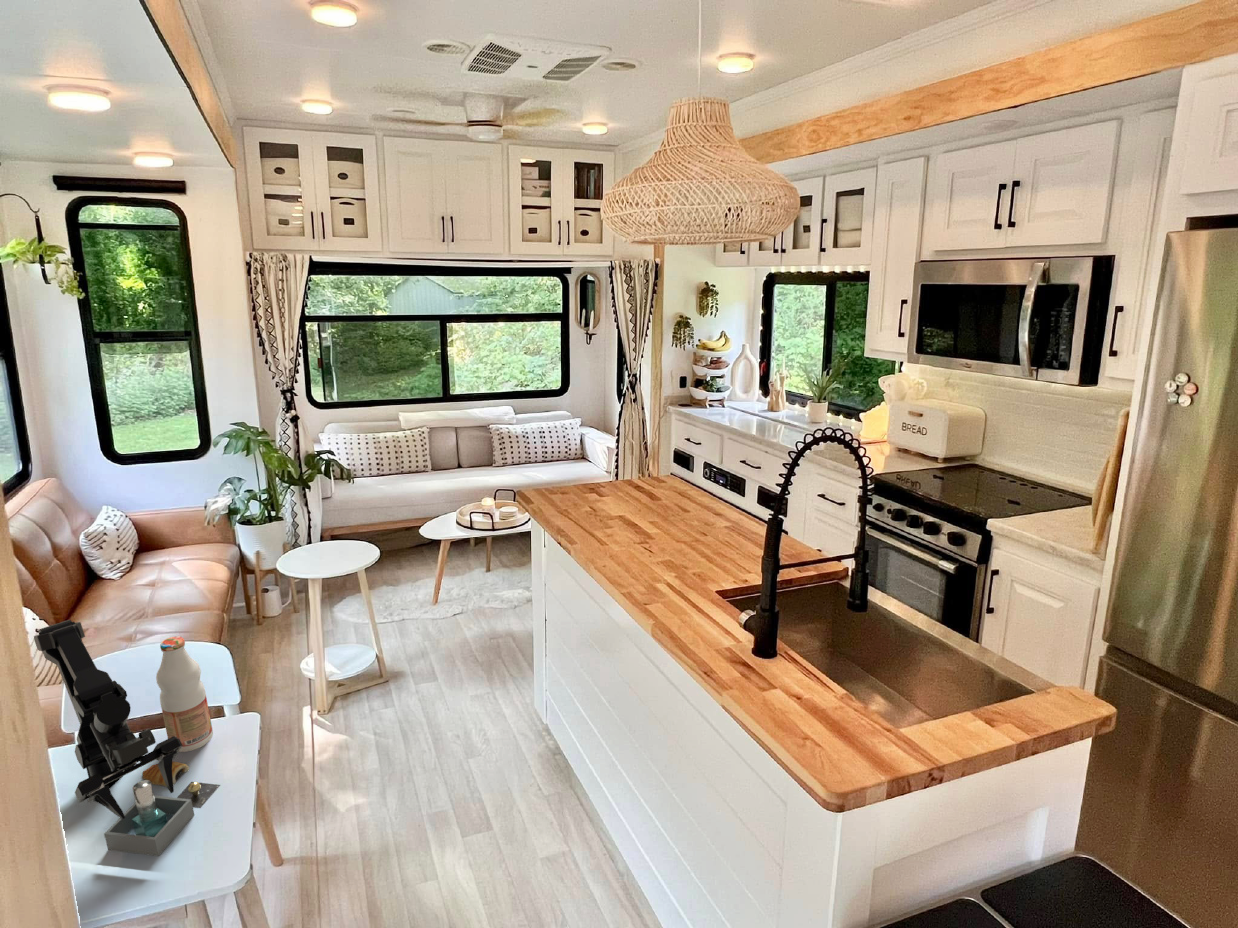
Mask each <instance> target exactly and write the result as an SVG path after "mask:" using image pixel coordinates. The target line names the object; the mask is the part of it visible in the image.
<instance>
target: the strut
mask: <svg viewBox="0 0 1238 928" xmlns="http://www.w3.org/2000/svg"><path fill="white" fill-rule="evenodd" d="M132 792H133V796H134V801H135V802H136V806H137V810H138V814H139V815H138V816H136V817H134V818H133V819H132V822H133V826H134V827H133V829H134V835H140V836H149V837H155V836H156V835H157V834H158V832H159V831H160V830H161V829H162V828H163V827H164V826H165V825H166V824H167V822H168V818H167V814H165V813H164V812H162V811H161V810H159V809H158V808H157V807H156V803H155V798H154V790H153V784H152V783H151V782H150V781H149V780H145V779H144V780H141V781H137V782H136V783H135V784H134V785H133V786H132Z"/></svg>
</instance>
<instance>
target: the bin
mask: <svg viewBox="0 0 1238 928" xmlns="http://www.w3.org/2000/svg"><path fill="white" fill-rule="evenodd" d="M154 798H155V803H156V807H157V808H158V809H159V810H161V811H162V812H164V813H165V814H166V815H171V816H172V817H171V818H170V819H169V820H167V824H166V825H165V826H164V827H163V828H162V829H161V830H160V831H159V832H158V834H157V835H156V836H155V837H149V836H140V835H136V834H130V833H129V832H130V831H131V830H132V829H134V826H133V822H132V819H133V818H134V817H136V816H138V815H139V814H138V810H137V806H136V801H135V802H134V803H133V804H132V805H130V807H129V808H128V809H127V810H126V811H125V812H123V814H124V816H125V819H123V820H122V819H121V818H119V817H118V819H117V820H116V821H115V823H113V824H112V826H110V827H109V828H108V829H107V830H106V831H105V832H104V833H103V836H104V838H105V842H106V847H107V850H108V851H115V852H122V853H123V852H124V853H130V854H139V855H149V856H156V857H159V856H160V855H161V854H162V853H163V852H164V850H165V849H166V848H167V847H168V846H169V845H170V844H171V842H173V840H174V839H175V838H176V837H177V836H178V834H180V832H181V831H182V830H183V829H184V828H185V826H186V825H187V824H188V823H189V822H190V821H191V820H192V819H193V817H194V816H195V812H194V811H195V810H194V807H193V806H192V801H191V799H182V798H177V797H172V796H171V797H170V796H162V795H154Z"/></svg>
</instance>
